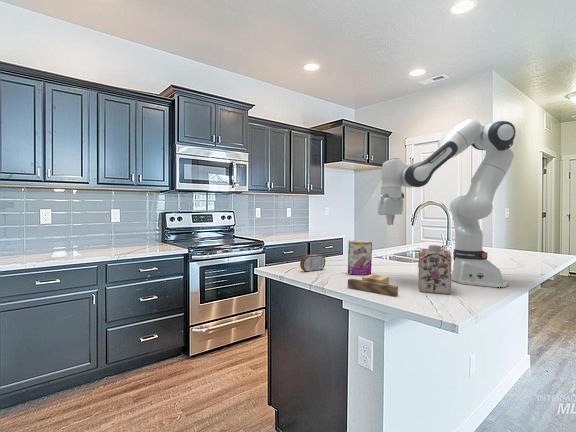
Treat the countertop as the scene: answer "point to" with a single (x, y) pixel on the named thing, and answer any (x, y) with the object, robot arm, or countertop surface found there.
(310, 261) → the tin
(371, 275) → the oak block
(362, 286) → the walnut board
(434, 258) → the decorative jar
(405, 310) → the countertop surface
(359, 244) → the candy bar box
